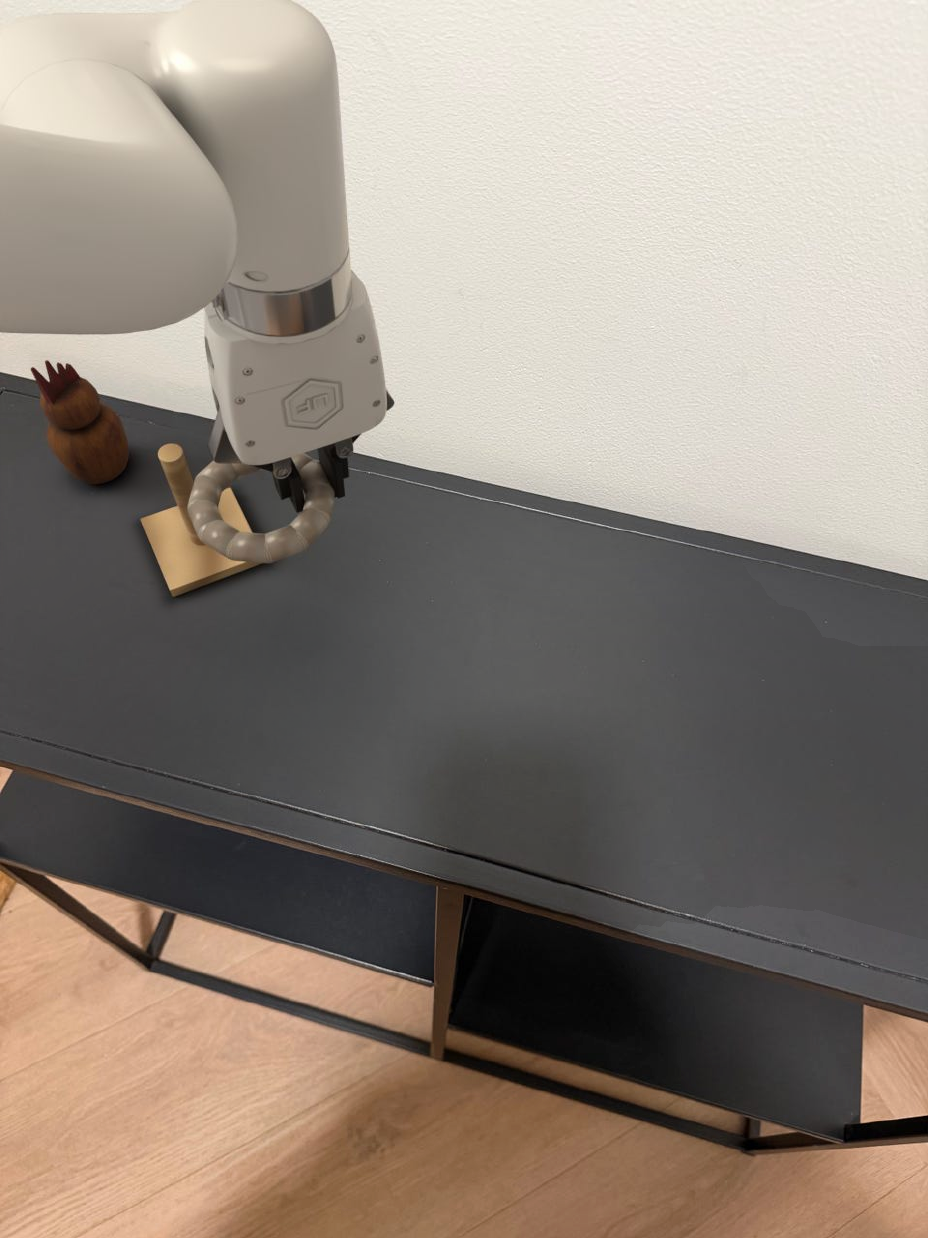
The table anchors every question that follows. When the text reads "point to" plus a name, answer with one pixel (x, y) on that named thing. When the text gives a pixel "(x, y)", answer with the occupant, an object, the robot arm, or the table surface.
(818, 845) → the table surface
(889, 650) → the table surface
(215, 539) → the ring
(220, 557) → the post
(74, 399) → the wooden figurine
